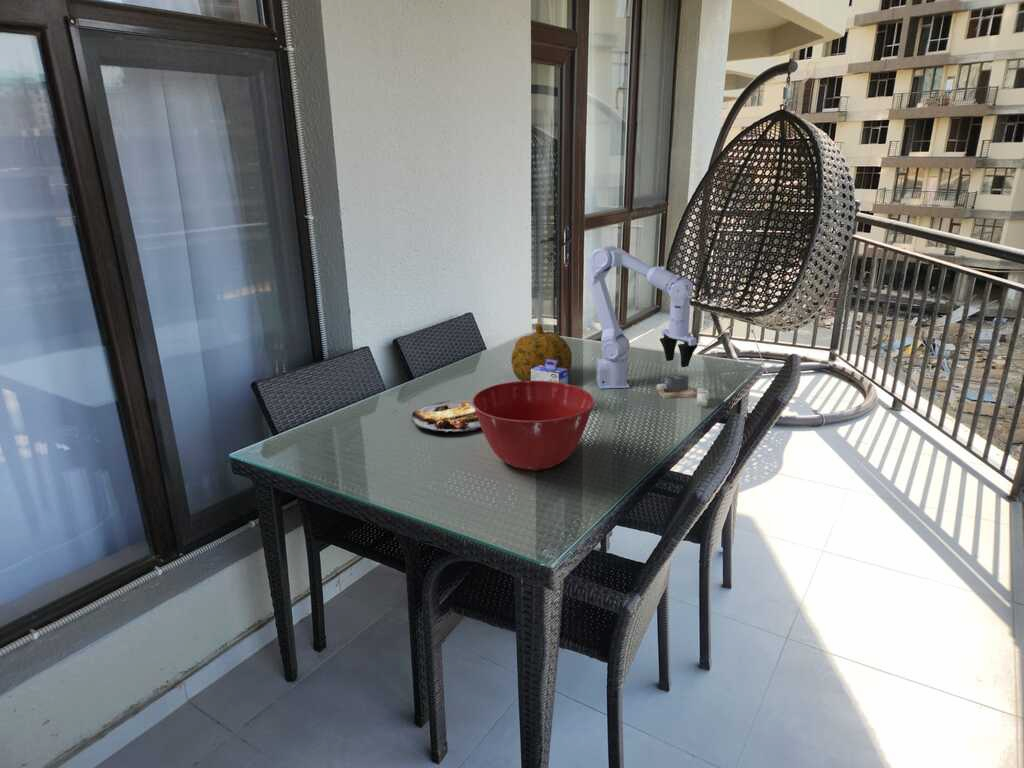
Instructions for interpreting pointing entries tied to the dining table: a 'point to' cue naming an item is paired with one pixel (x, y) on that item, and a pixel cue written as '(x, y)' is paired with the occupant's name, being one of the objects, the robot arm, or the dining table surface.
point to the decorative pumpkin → (539, 352)
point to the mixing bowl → (533, 421)
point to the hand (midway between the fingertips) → (677, 363)
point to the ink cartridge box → (549, 373)
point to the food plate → (447, 416)
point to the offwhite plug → (702, 397)
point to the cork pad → (677, 393)
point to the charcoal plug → (674, 383)
